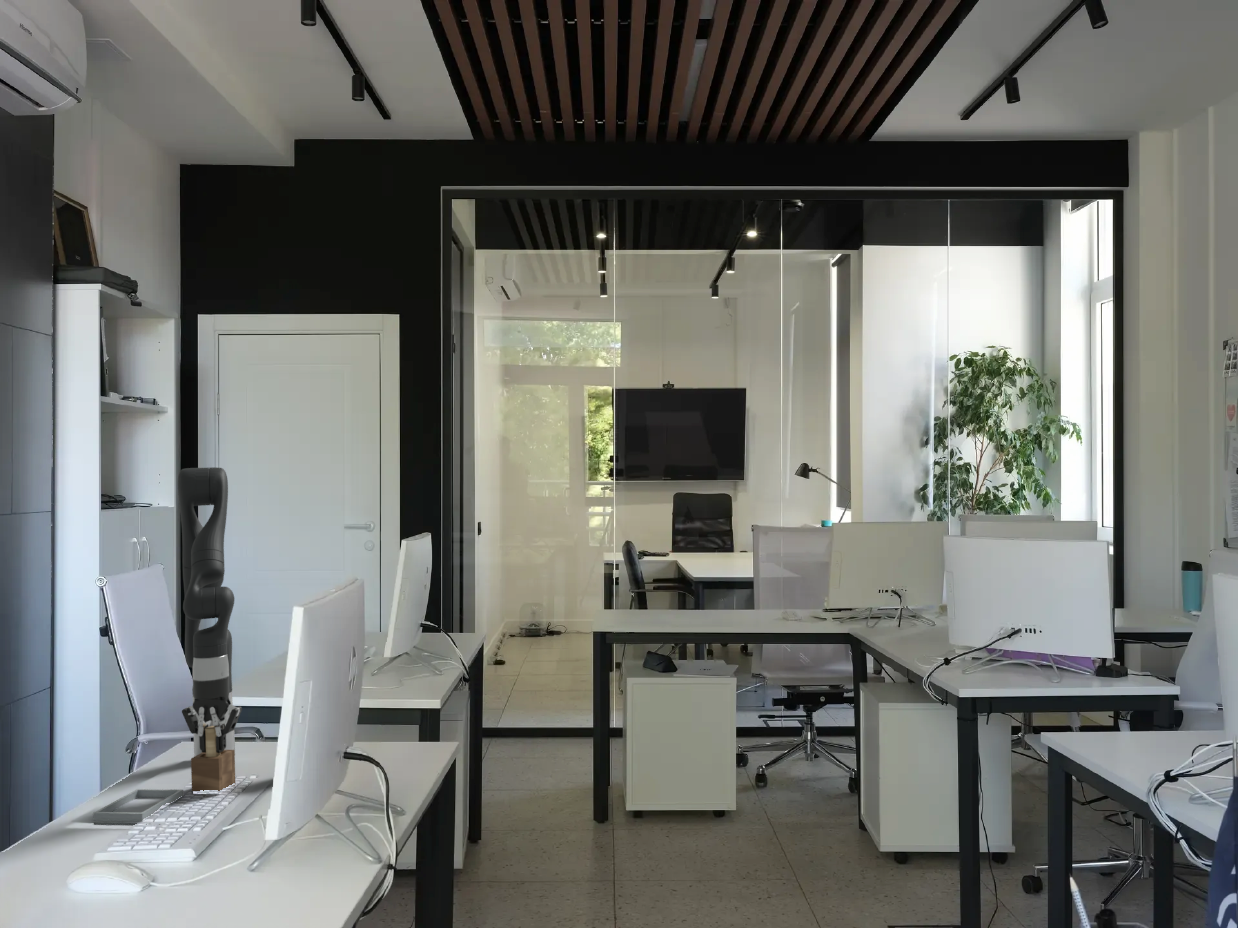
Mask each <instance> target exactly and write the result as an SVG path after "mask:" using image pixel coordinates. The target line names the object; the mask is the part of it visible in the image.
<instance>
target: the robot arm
mask: <svg viewBox="0 0 1238 928" xmlns="http://www.w3.org/2000/svg"><path fill="white" fill-rule="evenodd" d="M177 495H178V504H179V512H180V522H181V533H182V534H181V535H182V537H181V538H182V539H181V540H182V580H183V590H184V591H183V592H184V598H183V599H184V600H183V604H182V609H183V613H184V614H185V616H184V617H185V624H184V627H185V629H184V656H185V661H186V662H185V663H186V665H187V666H188V667H189V668H191V669H192V692H191V693H192V705H191V706H187V707H185V708H183V709H182V710H181V714H182V716H183V718H184V720H185V723H186V725H187V727H188V729H189V731H190V734H193V755H194V756H193V757H195V756H197V755H198V754H200V753H206V738H205V728H206V727H209V726H214V727H215V730H216V735H217V737H216V752H217V753H221V752H222V751H224V750H235V751H236V745H235V744H236V742H235V738H236V737H235V734H236V733H235V728H236V725H237V723H238V721H239V718H240V715H241V714H242V710H243V708H242V706H240V705H239V706H235V705H234V704H233V682H232V681H233V677H232V675H233V674H232V665H233V664H232V663H233V662H232V660H233V638H232V633H231V631H230V629H228V628H229V625H230V619H231V616H232V613H233V609H234V606H235V605H234V604H235V596H234V592H233V590H231V588H229V587H228V586H222V585H223V583H224V579H225V569H226V568H225V550H224V549H225V548H224V547H225V535H226V534H225V533H226V525H227V516H228V502H229V501H228V500H229V482H228V475H227V472H226V470H225V469H224V468H222V467H216V466H215V467H190V468H189V467H187V468H182V469H181V470H180V471H179V473H178V476H177ZM200 506H201V507H202V506H203V507H204V506H213V509H212V512H211V515H210V516H209V518H208V519H207V521H206V523H205V524H204V526H202V523H201V522H200V521H199V518H198V517H197V514H196V511H195V508H194V507H200ZM208 619H209V620H210V619H217V621H216V622H215V624H213V625H212V626H209V627H207V628H202V629H199V627H200V624H201V621H202V620H208Z"/></svg>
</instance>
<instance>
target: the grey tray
mask: <svg viewBox="0 0 1238 928" xmlns="http://www.w3.org/2000/svg"><path fill="white" fill-rule="evenodd" d="M181 796H183V797H184V789H175V788H174V789H168V788H167V789H164V788H162V789H161V788H160V789H157V788H152V789H151V788H136V789H135V790H132V791H131V792H129V793H127V794H126V795H123V796H122V797H120V798H118V799H116V800H113V802H112V801H111V803H109V804H106V805H105V806H103V807H102V808H100V809H97V810H96V811H94V812H93V814H92V815H93V818H92V820H93V826H129V827H130V826H132V827H133V825H135V824H137V823H138V822H143V821H142V820H143V819H144V818H146V817H148V816H150V817H152V816H151V814H153V813H154V812H155V811H157V810H158V809H159V808H160V807H161V806H162V805H165V804H166V803H171V802H173V801H175V800H176V799H178V798H179V797H181ZM137 798H164V799H162V800H160V801H159V802H157V803H156V804H154V805H152V806H150V807H148V808H147V809H145V810H143V811H142V812H135V811H134V812H126V811H124V812H123V811H121V812H120V811H119V812H117V811H116V810H117V809H119V808H121V807H123V806H125V805H126V804H129V803H130V802H131V801H133V800H136V799H137ZM175 802H176V801H175ZM94 821H95V822H94ZM97 821H103V822H97ZM104 821H105V822H104ZM108 821H109V822H108ZM110 821H111V822H110ZM112 821H113V822H112ZM116 821H117V822H116Z"/></svg>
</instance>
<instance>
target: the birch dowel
mask: <svg viewBox="0 0 1238 928" xmlns="http://www.w3.org/2000/svg"><path fill="white" fill-rule="evenodd" d="M216 737H217V735H216V730H215V727H214V726H209V727H206V728H205V738H206V757H218V756H219V755H220V753H217V752H216Z"/></svg>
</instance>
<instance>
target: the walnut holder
mask: <svg viewBox="0 0 1238 928" xmlns="http://www.w3.org/2000/svg"><path fill="white" fill-rule="evenodd" d="M235 759H236V749H235V750H224V751H222V752H221V753H220V755H219V756H218V757H206V753H200V754H198V755H197V756H195V757H194V756H193V757H191V759H190V770H191V771H190V772H191V773H190V775H191V792H192V791H200V790H203V791H204V790H218V791H220V790H222V789H223V788H226V787H228V786H229V785H232V784H233V783H235V784H236V760H235Z"/></svg>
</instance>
